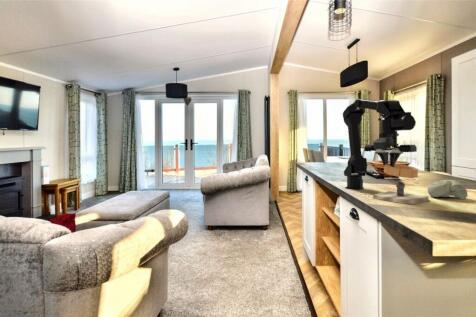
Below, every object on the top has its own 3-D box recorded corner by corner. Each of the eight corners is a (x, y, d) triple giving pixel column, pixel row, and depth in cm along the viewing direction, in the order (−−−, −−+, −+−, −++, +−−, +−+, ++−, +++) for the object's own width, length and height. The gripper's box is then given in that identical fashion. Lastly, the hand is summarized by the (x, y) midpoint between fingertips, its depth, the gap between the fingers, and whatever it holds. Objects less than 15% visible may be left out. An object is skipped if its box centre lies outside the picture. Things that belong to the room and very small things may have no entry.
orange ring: (379, 172, 113) (380, 164, 112) (393, 169, 119) (394, 163, 119) (407, 179, 104) (409, 171, 104) (421, 176, 110) (422, 168, 110)
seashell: (432, 181, 110) (426, 174, 119) (428, 200, 112) (423, 192, 121) (472, 185, 105) (463, 178, 114) (468, 205, 107) (459, 197, 116)
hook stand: (373, 198, 114) (373, 181, 114) (389, 194, 122) (389, 178, 121) (412, 205, 102) (413, 186, 102) (428, 200, 109) (428, 182, 109)
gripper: (356, 132, 117) (356, 169, 118) (403, 130, 102) (402, 172, 103) (371, 132, 124) (371, 167, 125) (417, 130, 108) (416, 170, 109)
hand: (388, 169), depth 115 cm, fingers closed on orange ring, 2 cm apart
